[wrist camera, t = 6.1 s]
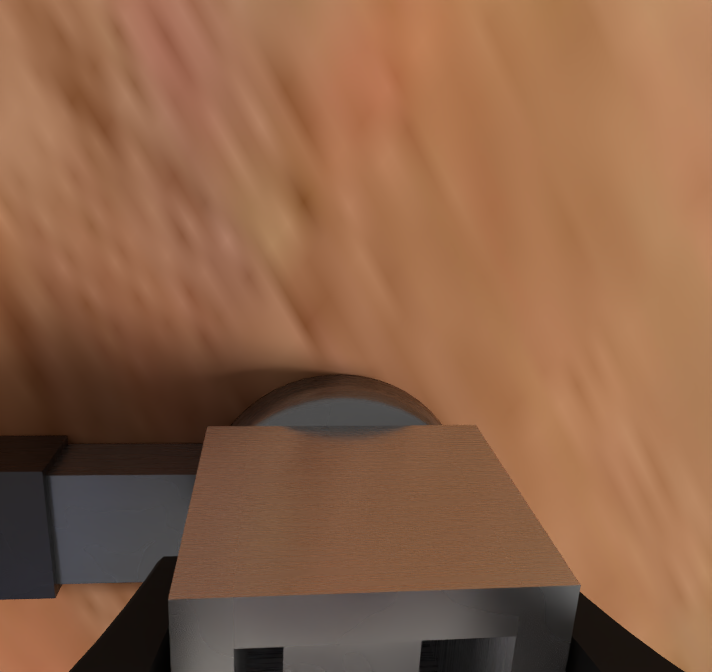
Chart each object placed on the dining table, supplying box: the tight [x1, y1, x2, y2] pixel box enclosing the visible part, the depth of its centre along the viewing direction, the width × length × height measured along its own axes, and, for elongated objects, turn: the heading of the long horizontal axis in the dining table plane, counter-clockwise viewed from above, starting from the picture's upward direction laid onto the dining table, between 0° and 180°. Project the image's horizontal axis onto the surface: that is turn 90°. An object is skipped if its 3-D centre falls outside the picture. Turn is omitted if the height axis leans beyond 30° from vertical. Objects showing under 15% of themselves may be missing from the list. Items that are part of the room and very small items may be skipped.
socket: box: [168, 425, 581, 672], centre depth 12 cm, size 5×5×5 cm
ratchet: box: [0, 375, 442, 672], centre depth 13 cm, size 14×6×5 cm, turn 87°
